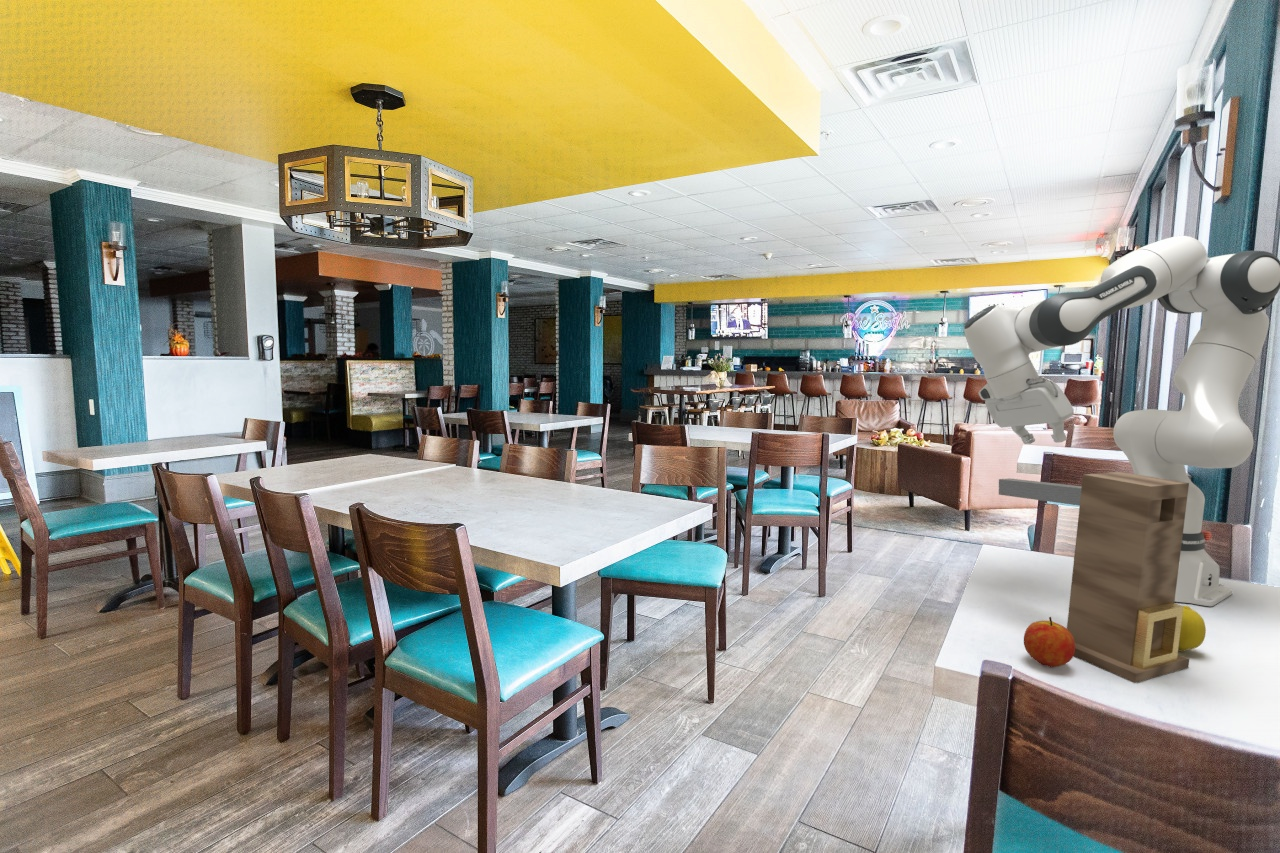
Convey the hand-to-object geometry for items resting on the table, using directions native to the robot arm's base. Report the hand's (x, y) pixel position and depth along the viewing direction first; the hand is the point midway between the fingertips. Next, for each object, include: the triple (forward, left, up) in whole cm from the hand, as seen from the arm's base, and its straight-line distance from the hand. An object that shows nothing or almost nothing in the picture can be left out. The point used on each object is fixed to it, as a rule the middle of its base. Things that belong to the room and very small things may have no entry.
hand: (1045, 442), depth 131 cm
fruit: (+28, +23, -32) cm, 49 cm away
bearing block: (+14, +25, -32) cm, 43 cm away
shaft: (+15, +15, -8) cm, 22 cm away
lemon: (+1, +28, -32) cm, 43 cm away
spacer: (+15, +31, -31) cm, 46 cm away
